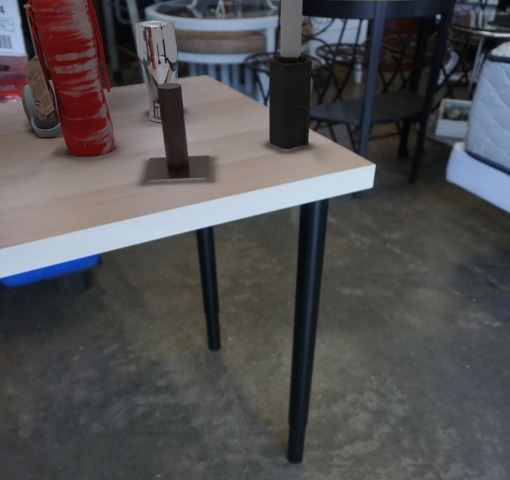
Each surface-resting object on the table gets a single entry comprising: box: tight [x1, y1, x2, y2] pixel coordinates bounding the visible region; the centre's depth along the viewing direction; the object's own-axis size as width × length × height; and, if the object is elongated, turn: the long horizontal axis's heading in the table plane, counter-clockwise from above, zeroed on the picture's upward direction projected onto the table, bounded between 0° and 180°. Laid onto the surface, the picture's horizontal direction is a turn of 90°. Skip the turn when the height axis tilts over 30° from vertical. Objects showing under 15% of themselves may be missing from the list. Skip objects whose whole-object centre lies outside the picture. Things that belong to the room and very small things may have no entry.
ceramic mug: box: [20, 79, 63, 138], centre depth 94 cm, size 11×8×8 cm
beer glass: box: [134, 19, 179, 123], centre depth 96 cm, size 7×7×15 cm
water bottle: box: [23, 0, 116, 158], centre depth 76 cm, size 12×8×25 cm, turn 98°
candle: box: [268, 0, 313, 150], centre depth 77 cm, size 5×5×25 cm
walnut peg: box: [144, 83, 211, 181], centre depth 74 cm, size 9×9×12 cm
